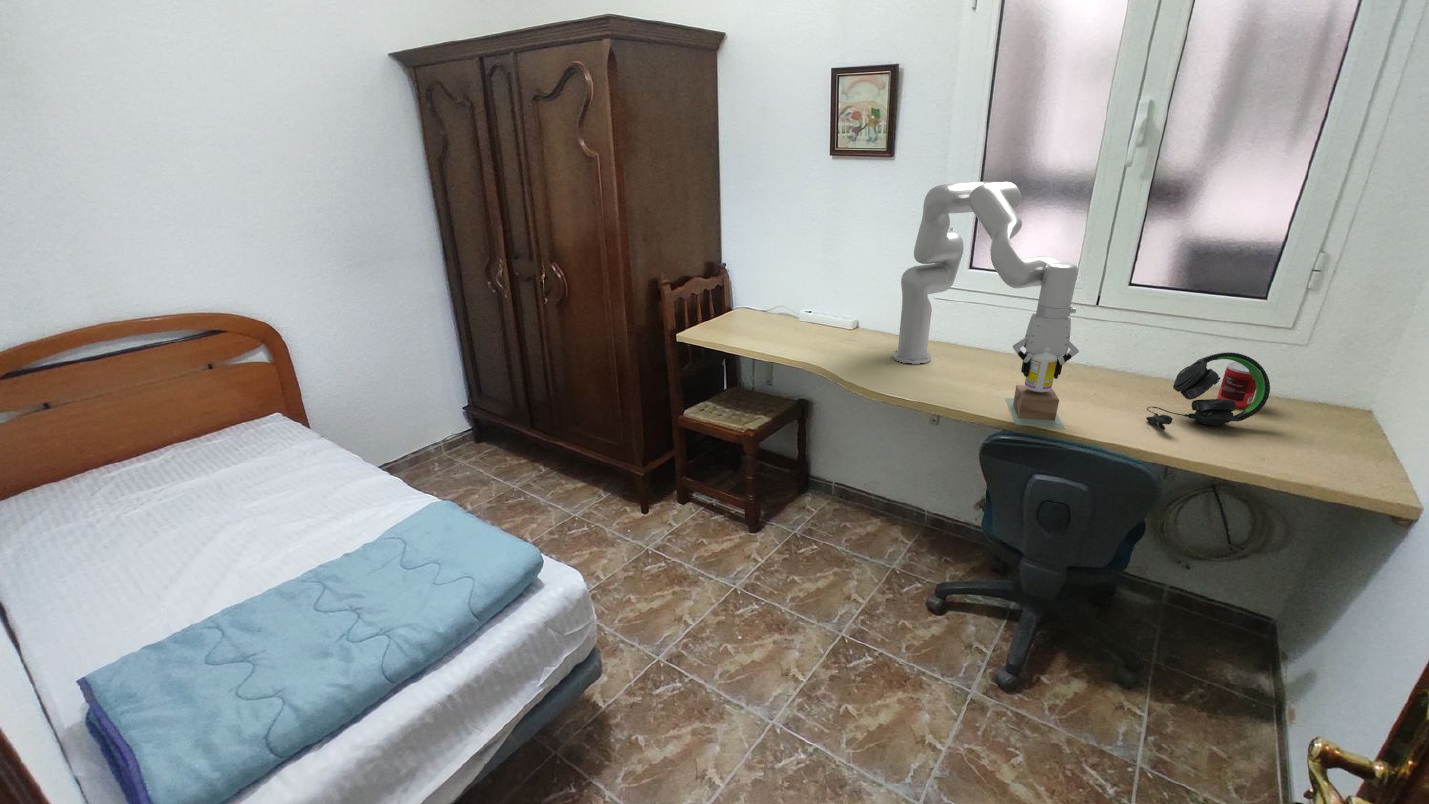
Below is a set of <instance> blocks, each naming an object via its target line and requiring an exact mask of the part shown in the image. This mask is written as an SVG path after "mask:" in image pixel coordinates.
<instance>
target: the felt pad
mask: <svg viewBox="0 0 1429 804" xmlns="http://www.w3.org/2000/svg"><path fill="white" fill-rule="evenodd" d="M1004 399H1005V402H1006V404H1007V407H1008V409H1009V410H1008V411H1009V412H1010V415H1011V418H1012V419H1013V422H1014V424H1015V426H1027V427H1040V428H1055V429H1066V426H1064V424H1063V422H1062V420H1061V418H1060V417H1059V415H1058V413H1056V418H1055V421H1054V420H1040V419H1027V418H1019V417H1018V415H1017V413H1016V410H1015V408H1014V406H1013V402H1014V398H1013V397H1012V398H1011V397H1005V398H1004Z"/></svg>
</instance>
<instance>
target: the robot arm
mask: <svg viewBox="0 0 1429 804" xmlns="http://www.w3.org/2000/svg"><path fill="white" fill-rule="evenodd" d="M1021 201H1022V194H1021V192H1020V189H1019V187H1018V186H1017V185H1016V184H1015V183H1013V182H1010V181H971V182H970V181H969V182H955V183H954V182H953V183H945V184H939V185H936V186H934V187H932V188H930V189H929V191H928V192H927V193H926V195H925V197H924V201H923V207H922V209H923V210H922V215H921V216H922V218H921V222H920V224H919V228H918V233H917V235H916V239H915V244H914V248H913V258H914V259H915V261H916V262H917V263H919V264H921V265H915V266H912V267H909V268H908V269H906V270H905V271H904V272H903V273H902V275H901V278H900V280H901V281H900V285H901V286H900V287H901V294H902V295H901V296H902V297H901V298H902V300H901V302H902V303H901V304H902V305H901V313H900V323H899V334H898V344H897V350H896V351H894V352H892V359H893V360H895V361H896V362H898V361H899V363H901V362H902V363H903V364H906V363H912V364H911V365H921V364H920V363H924V364H927V363H929V362H931V360H932V356H931V354H930V353H928V344H929V336H930V327H931V320H932V319H931V318H932V312H933V311H932V309H933V308H932V303H931V302H930V299H929V298H928V297H929V295H932V294H938V293H943V292H946V291H949V290H950V289H951V288H952V286H953V285H954V282H955V280H956V277H957V275H958V271H959V268H960V264H961V262H962V261H961V260H962V257H963V255H964V249H965V248H964V241H963V237H962V236H961V234H959V233H958V232H957V231H954V230H949V228H950V225H951V219H950V218H951V217H950V214H965V213H966V214H967V213H973V214H974V215H975V217H976V218H977V219H978V221H979V223H980V224H981V226H982V227H983V229H984V230H985V231H986V233H987V235H988V236H989V238H990V240H991V244H990V251H989V253H990V260H991V264H992V266H993V269H995V271H996V273H997V274H998V276H999V278H1000V279H1001V280H1002V281H1003V283H1005V285H1007V286H1008V287H1010V288H1011V289H1019V290H1020V289H1025V288H1031V287H1038V286H1039V287H1040V290H1039V296H1038V301H1037V302H1038V303H1037V306H1036V312H1035V313H1032V315H1031V317H1030V318H1029V322H1028V325H1027V328H1026V331H1025V336H1024V338H1022V339H1020V340H1019V341H1018V342H1016V343H1015V344H1013V345H1012V349H1013V350H1014V352H1015V353H1016V354H1017V355H1018V357H1019V358H1020V359H1021V360H1022V363H1021V368H1020V372H1021V373H1022V374H1023V376H1024V378H1026V377H1027V376H1028V373H1029V368H1030V362H1029V360H1030V359H1031V357H1032V356H1033V355H1034V354H1043V353H1045V352H1049V354H1052V355H1057V357H1058V359H1057V364H1056V369H1055V374H1054V379H1055V380H1057V379H1058V378H1059V376H1060V375H1061V373H1062V368H1063V366H1064V365H1065V364H1066V362H1068V361H1070V360H1071V359H1072V358H1073V357H1074V356H1076V355H1077V354H1078V353H1080V350H1079V349H1078V347H1076V346H1075V345H1074V344H1073V343H1072V342H1071V331H1072V327H1071V325H1072V321H1071V320H1072V319H1071V316H1070V315H1072V314H1076V312H1077V308H1076V307H1073V306H1072V301H1073V296H1074V292H1075V287H1076V283H1077V277H1078V272H1079V269H1078V266H1077V265H1076V264H1075V263H1071V262H1065V261H1059V260H1057V259H1055V258H1053V257H1050V256H1046V255H1041V256H1032V257H1025V258H1024V257H1023V258H1020V257H1019V255H1018V254H1017V252H1016V251H1015V250H1014V248H1013V247H1012V244H1011V239H1013V238H1014V237H1015V236H1016V235H1018V233H1019V232H1020V231H1021V229H1022V227H1023V222H1022V221H1023V220H1022V219H1021V218H1020V216H1019V215H1018V213H1017V212H1016V211H1015V210H1016V209H1018V207H1019V205H1020V204H1021ZM1046 347H1050V349H1051V350H1049V351H1045V350H1044V349H1045V348H1046ZM1021 348H1025V352H1023V350H1022V349H1021ZM1069 349H1070V350H1069Z"/></svg>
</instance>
